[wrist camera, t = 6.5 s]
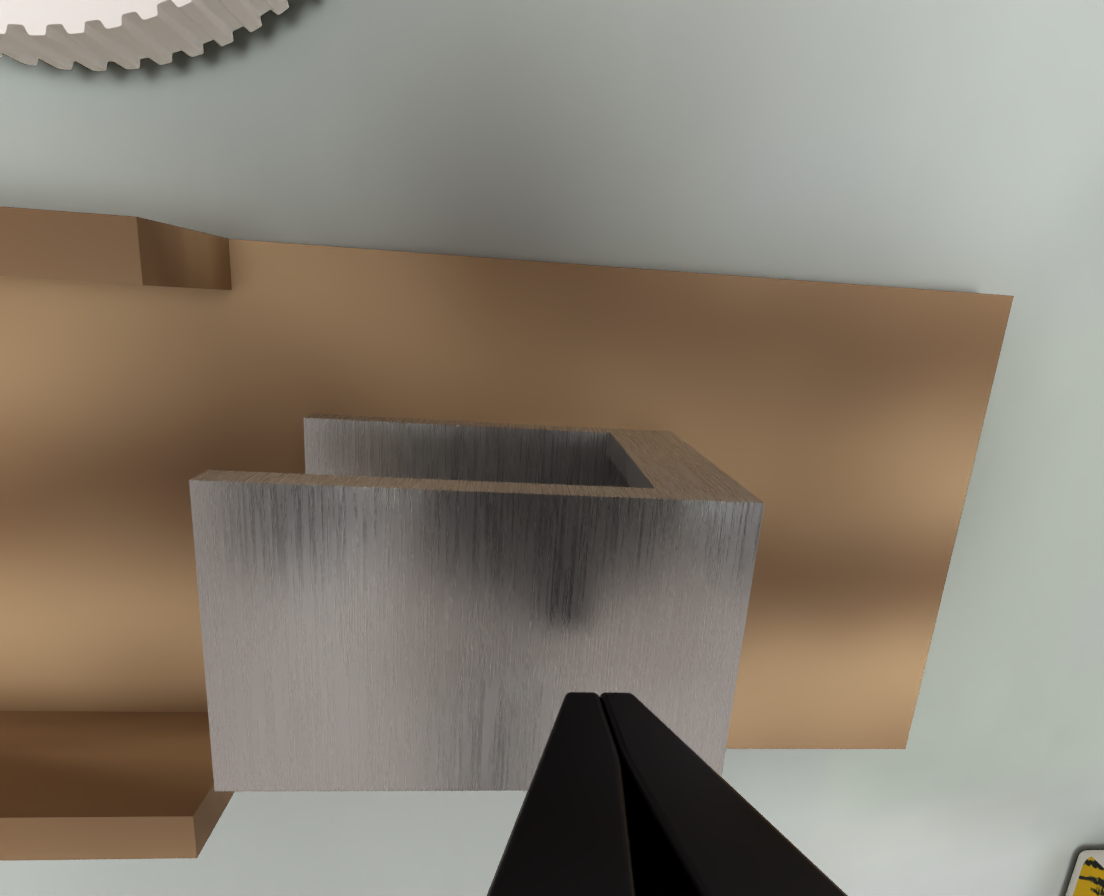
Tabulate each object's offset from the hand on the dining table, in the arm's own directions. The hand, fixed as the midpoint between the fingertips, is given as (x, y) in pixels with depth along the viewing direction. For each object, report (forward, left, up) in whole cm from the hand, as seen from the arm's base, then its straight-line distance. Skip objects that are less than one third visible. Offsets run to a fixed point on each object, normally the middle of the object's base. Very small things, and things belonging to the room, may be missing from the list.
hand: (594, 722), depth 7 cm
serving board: (0, +4, -8) cm, 8 cm away
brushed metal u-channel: (0, -3, -4) cm, 5 cm away
